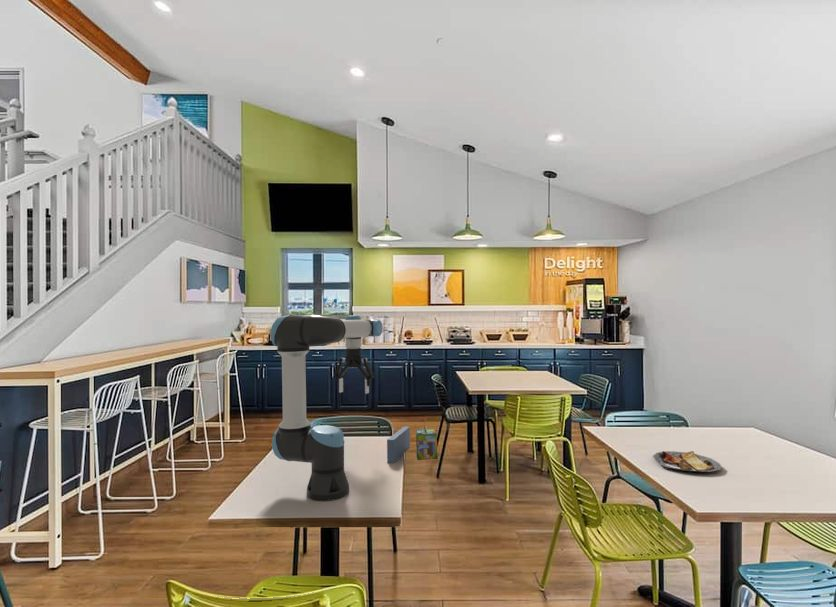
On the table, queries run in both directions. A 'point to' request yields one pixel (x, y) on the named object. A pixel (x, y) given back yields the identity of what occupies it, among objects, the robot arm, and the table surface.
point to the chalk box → (426, 444)
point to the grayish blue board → (398, 444)
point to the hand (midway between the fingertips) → (354, 392)
